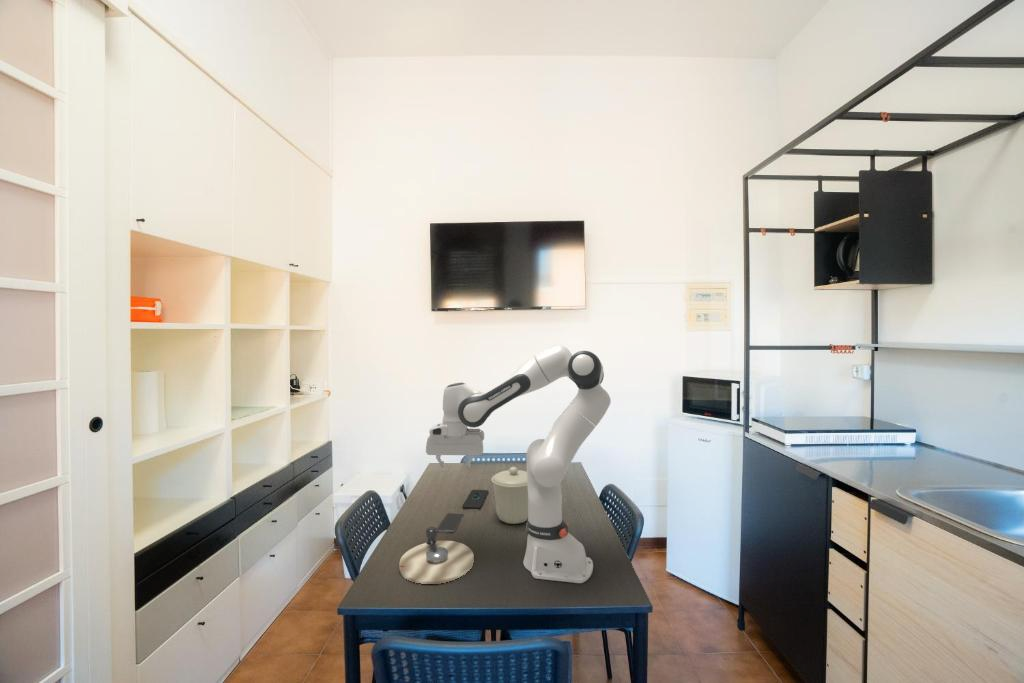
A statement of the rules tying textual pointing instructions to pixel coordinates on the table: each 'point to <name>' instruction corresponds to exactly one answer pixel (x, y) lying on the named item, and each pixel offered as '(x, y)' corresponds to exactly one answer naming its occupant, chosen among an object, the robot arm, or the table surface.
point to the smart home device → (475, 499)
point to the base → (428, 573)
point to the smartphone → (450, 522)
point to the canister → (511, 495)
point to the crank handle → (434, 547)
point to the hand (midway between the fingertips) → (454, 467)
